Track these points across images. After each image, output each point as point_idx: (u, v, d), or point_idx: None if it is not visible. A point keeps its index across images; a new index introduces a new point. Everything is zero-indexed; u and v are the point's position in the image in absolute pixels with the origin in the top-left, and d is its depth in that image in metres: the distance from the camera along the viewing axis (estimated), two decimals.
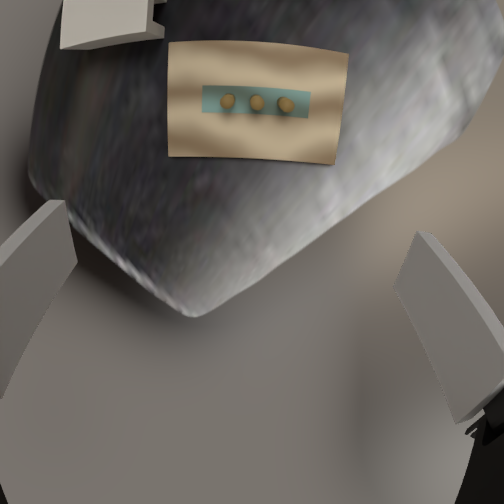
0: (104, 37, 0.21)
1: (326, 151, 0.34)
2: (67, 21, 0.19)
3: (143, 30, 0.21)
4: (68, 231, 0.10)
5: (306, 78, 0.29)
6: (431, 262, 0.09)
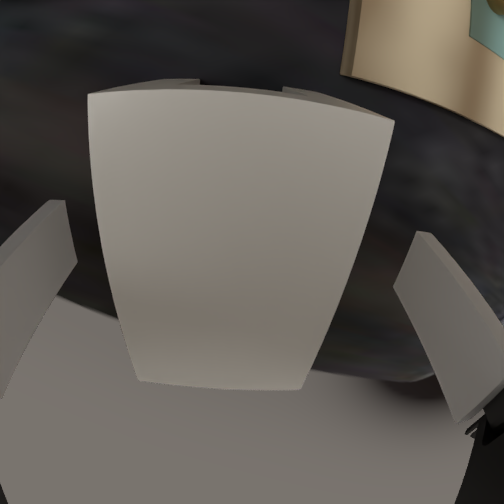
0: (341, 284, 0.08)
1: None
2: (219, 378, 0.10)
3: (387, 130, 0.06)
4: (68, 231, 0.10)
5: None
6: (431, 262, 0.09)
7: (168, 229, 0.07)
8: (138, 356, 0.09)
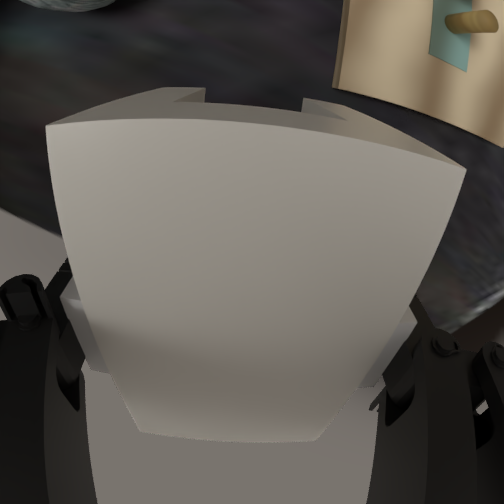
0: (375, 353, 0.06)
1: None
2: (229, 434, 0.09)
3: (457, 181, 0.04)
4: None
5: None
6: None
7: (166, 303, 0.05)
8: (139, 413, 0.08)
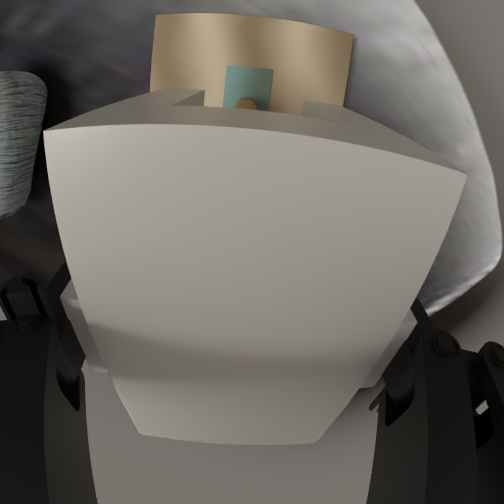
0: (374, 357, 0.06)
1: (330, 43, 0.17)
2: (229, 436, 0.09)
3: (458, 186, 0.04)
4: None
5: (203, 72, 0.18)
6: None
7: (165, 309, 0.05)
8: (139, 416, 0.08)
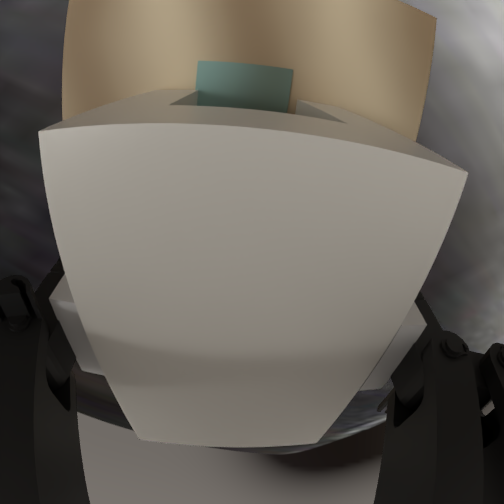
0: (376, 356, 0.06)
1: (400, 28, 0.08)
2: (229, 439, 0.08)
3: (459, 184, 0.04)
4: None
5: (153, 77, 0.09)
6: None
7: (166, 313, 0.05)
8: (138, 422, 0.08)
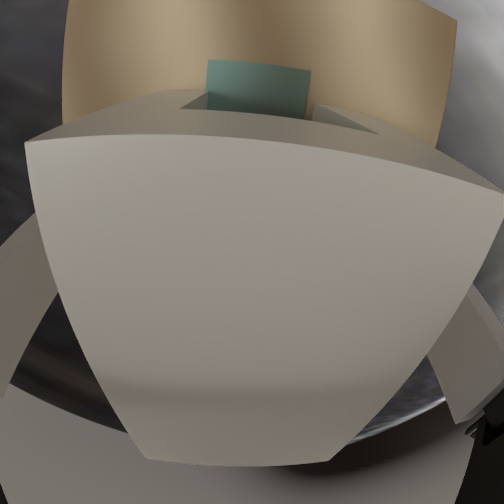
0: (398, 382, 0.06)
1: (421, 30, 0.07)
2: (240, 460, 0.08)
3: (501, 210, 0.03)
4: None
5: (160, 76, 0.08)
6: None
7: (178, 349, 0.04)
8: (145, 444, 0.07)
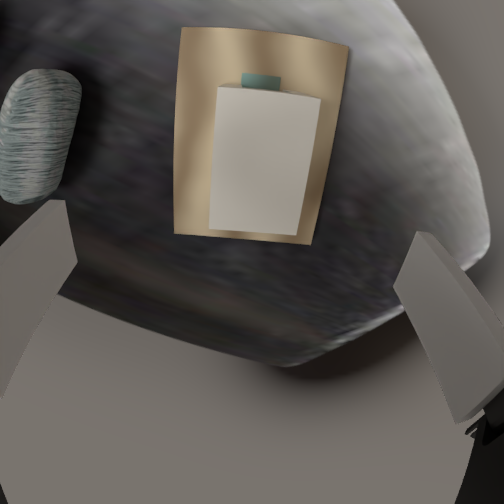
0: (308, 163, 0.19)
1: (329, 54, 0.20)
2: (254, 222, 0.21)
3: (318, 102, 0.17)
4: (68, 231, 0.10)
5: (222, 78, 0.22)
6: (431, 262, 0.09)
7: (242, 136, 0.18)
8: (214, 207, 0.21)
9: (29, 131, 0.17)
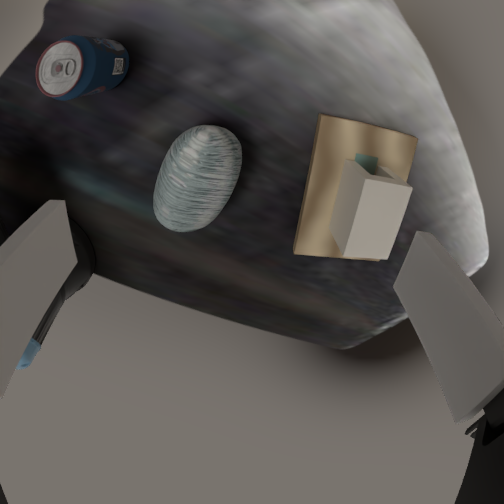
0: (400, 221, 0.33)
1: (406, 144, 0.34)
2: (368, 252, 0.35)
3: (411, 189, 0.30)
4: (68, 231, 0.10)
5: (344, 155, 0.35)
6: (431, 262, 0.09)
7: (372, 206, 0.32)
8: (349, 244, 0.34)
9: (217, 181, 0.31)
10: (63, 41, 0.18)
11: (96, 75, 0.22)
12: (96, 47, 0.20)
